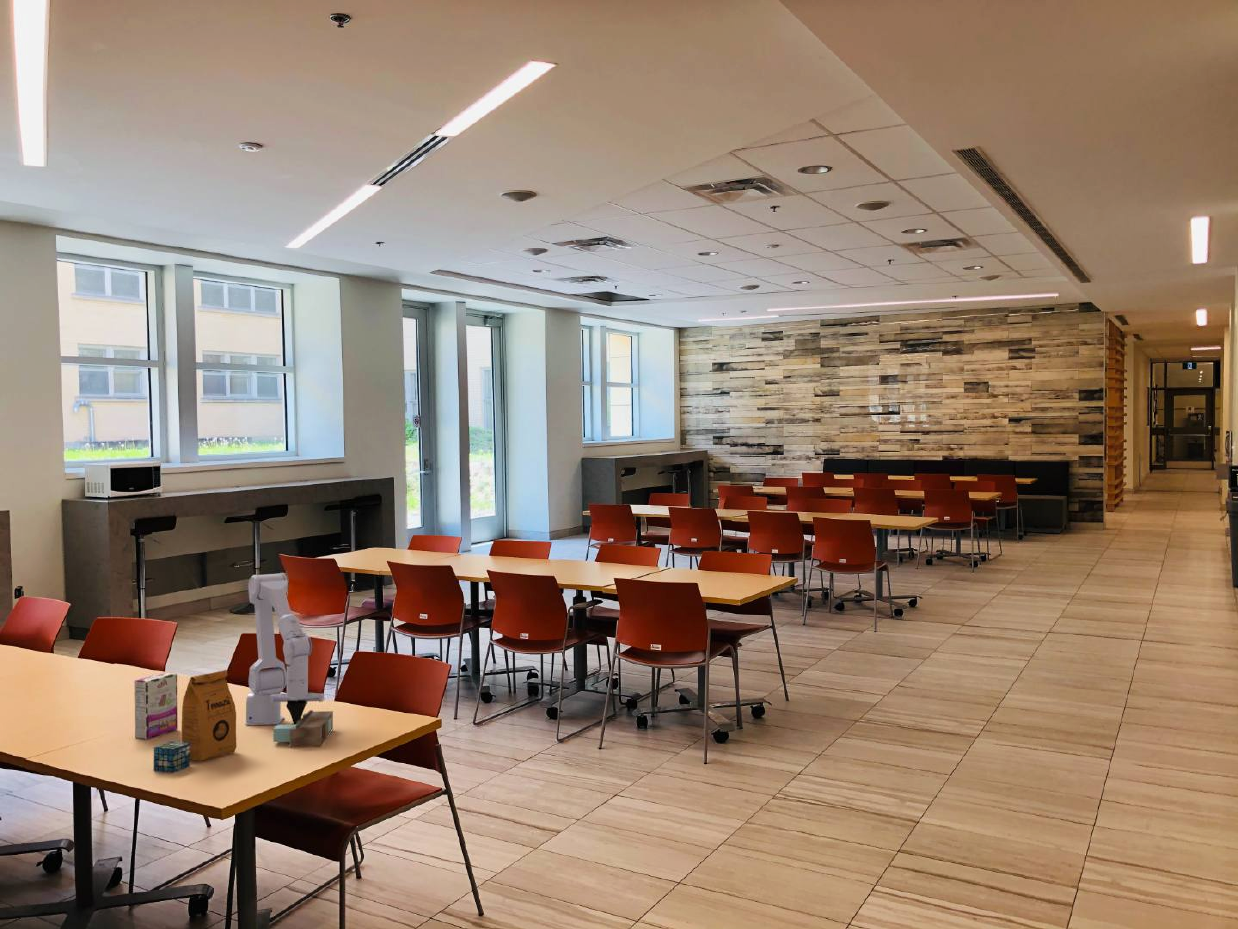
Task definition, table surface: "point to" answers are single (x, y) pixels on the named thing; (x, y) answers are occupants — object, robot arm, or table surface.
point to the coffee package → (209, 717)
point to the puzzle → (171, 757)
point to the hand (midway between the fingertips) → (296, 727)
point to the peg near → (282, 733)
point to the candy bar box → (155, 705)
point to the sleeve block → (311, 729)
